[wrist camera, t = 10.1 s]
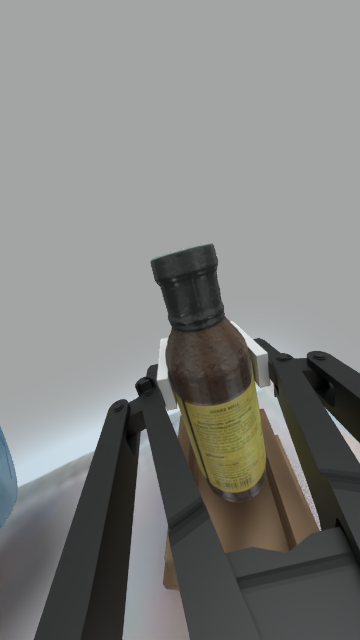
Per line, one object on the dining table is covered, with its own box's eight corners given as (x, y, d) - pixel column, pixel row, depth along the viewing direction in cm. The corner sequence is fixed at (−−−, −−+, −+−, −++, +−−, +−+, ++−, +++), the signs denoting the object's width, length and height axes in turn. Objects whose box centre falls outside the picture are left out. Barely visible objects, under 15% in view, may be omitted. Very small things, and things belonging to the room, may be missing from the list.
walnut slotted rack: (166, 588, 15) (145, 557, 13) (180, 444, 26) (170, 416, 24) (349, 607, 12) (359, 573, 10) (277, 439, 23) (276, 407, 21)
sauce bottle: (279, 460, 16) (263, 227, 9) (243, 532, 12) (179, 243, 6) (223, 421, 21) (187, 251, 14) (186, 465, 17) (116, 267, 11)
